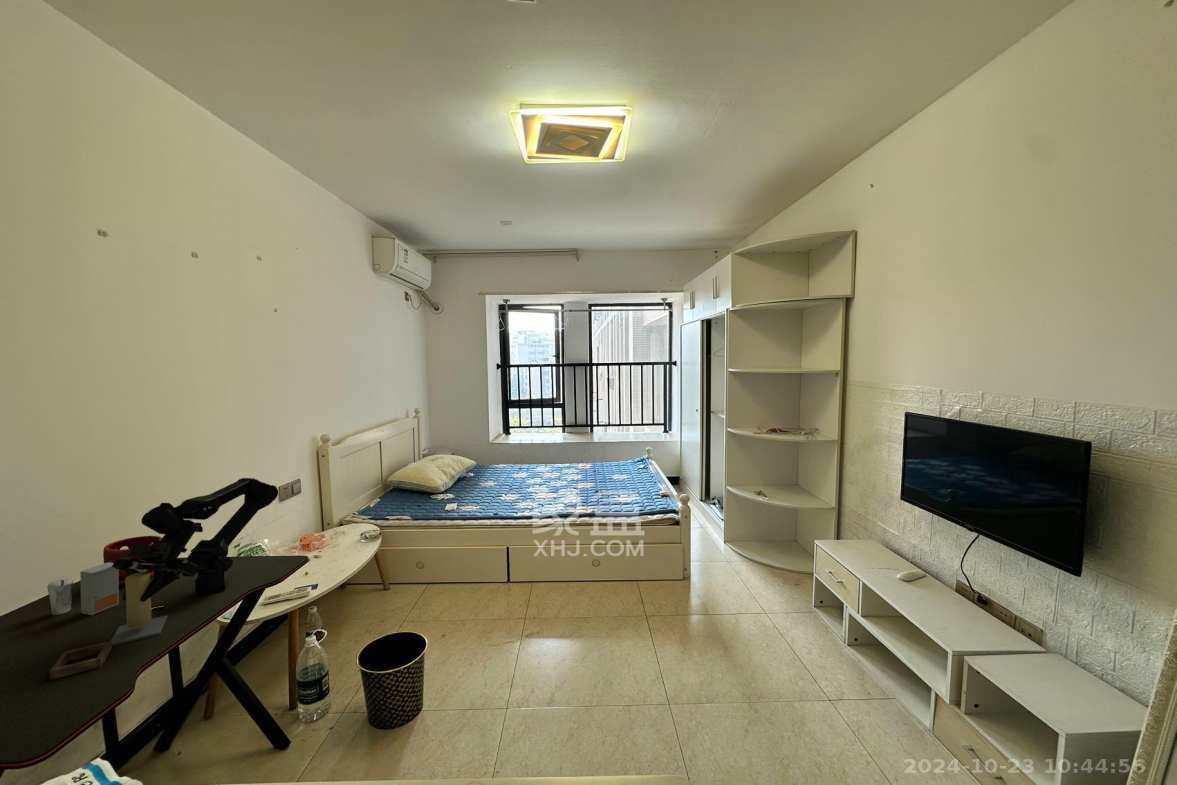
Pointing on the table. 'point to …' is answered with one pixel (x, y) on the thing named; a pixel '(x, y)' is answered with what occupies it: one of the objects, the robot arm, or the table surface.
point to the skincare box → (99, 588)
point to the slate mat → (138, 631)
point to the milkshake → (60, 595)
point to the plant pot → (126, 552)
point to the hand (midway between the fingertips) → (132, 600)
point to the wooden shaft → (137, 599)
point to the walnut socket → (63, 670)
